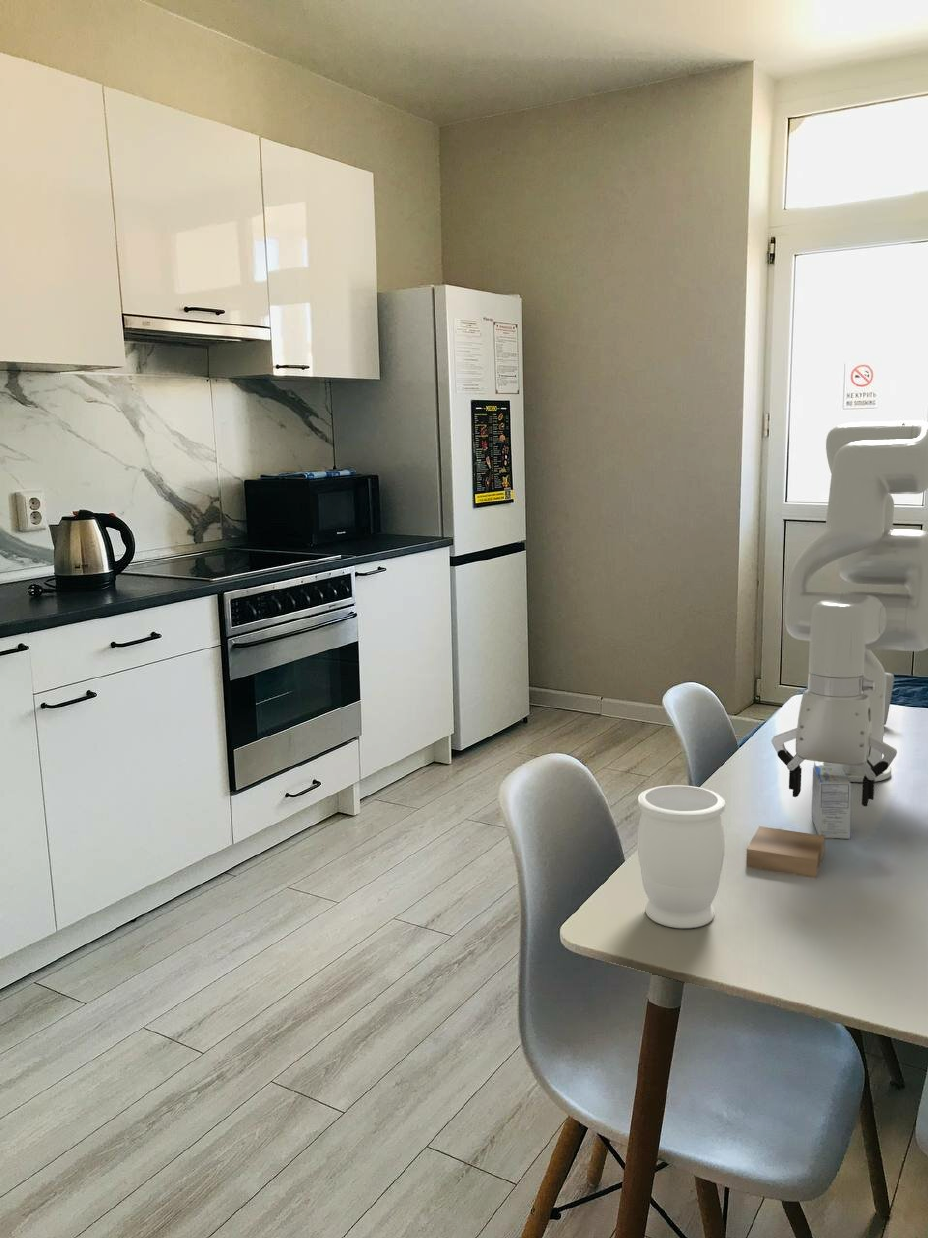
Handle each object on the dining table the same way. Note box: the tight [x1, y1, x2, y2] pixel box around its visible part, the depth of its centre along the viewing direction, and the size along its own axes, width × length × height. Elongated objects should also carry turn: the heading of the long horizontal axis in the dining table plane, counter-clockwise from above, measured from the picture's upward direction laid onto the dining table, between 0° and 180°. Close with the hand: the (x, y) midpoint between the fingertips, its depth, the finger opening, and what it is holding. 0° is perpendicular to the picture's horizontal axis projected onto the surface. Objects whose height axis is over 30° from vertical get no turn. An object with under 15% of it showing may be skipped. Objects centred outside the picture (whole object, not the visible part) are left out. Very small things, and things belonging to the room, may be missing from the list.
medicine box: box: [811, 765, 852, 840], centre depth 149 cm, size 8×4×9 cm, turn 168°
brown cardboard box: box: [745, 825, 826, 879], centre depth 139 cm, size 9×9×3 cm
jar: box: [637, 784, 726, 929], centre depth 123 cm, size 11×10×15 cm
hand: (830, 798), depth 149 cm, fingers open, 9 cm apart
